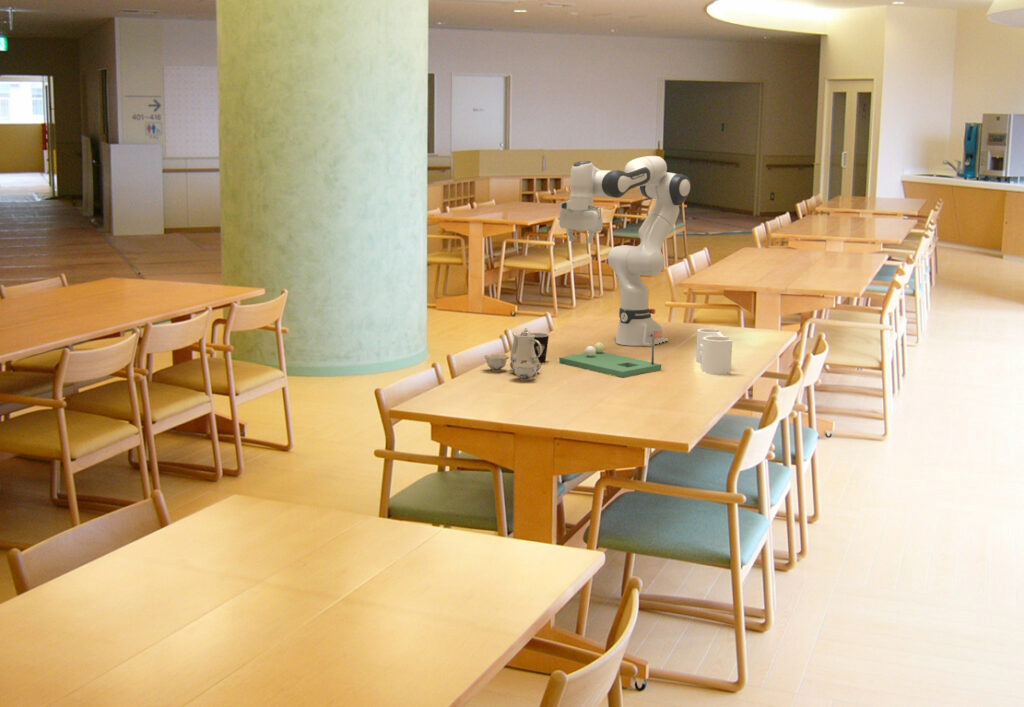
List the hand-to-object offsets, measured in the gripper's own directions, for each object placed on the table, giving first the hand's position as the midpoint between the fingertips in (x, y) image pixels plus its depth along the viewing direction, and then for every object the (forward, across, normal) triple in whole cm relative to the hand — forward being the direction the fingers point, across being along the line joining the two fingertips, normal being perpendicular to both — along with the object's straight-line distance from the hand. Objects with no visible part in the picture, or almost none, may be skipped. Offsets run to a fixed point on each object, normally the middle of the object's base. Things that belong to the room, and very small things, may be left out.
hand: (580, 242), depth 417 cm
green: (+43, -24, +7) cm, 50 cm away
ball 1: (+39, -14, +7) cm, 42 cm away
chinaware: (+43, -13, +41) cm, 61 cm away
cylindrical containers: (+43, -48, -21) cm, 68 cm away
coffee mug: (+43, 0, +23) cm, 49 cm away
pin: (+41, -38, -2) cm, 56 cm away
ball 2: (+39, -11, 0) cm, 40 cm away
